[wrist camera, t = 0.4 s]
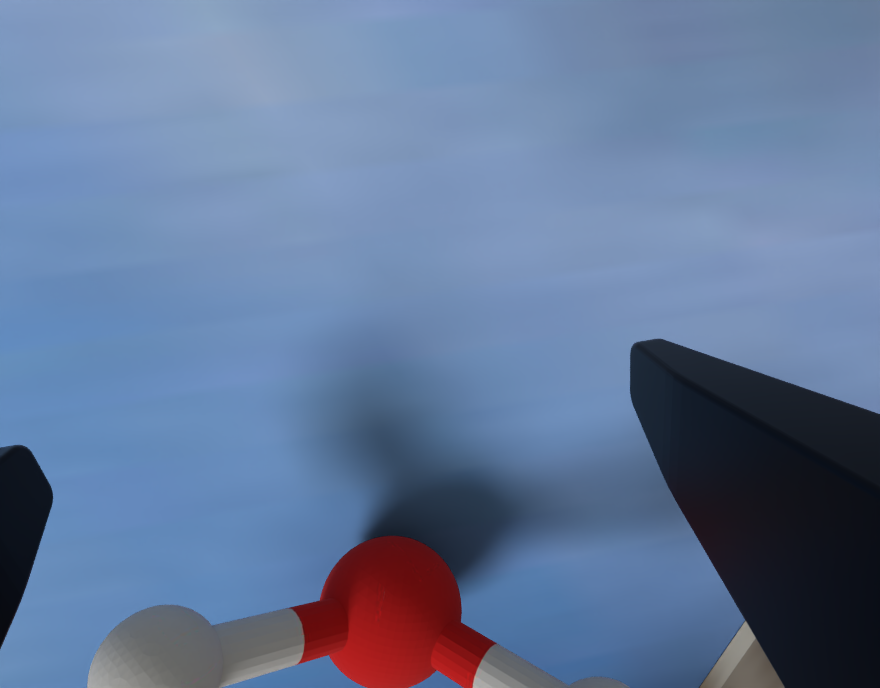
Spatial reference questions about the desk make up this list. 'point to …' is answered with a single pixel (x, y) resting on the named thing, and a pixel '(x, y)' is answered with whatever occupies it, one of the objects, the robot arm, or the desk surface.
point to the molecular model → (328, 634)
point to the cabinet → (743, 665)
